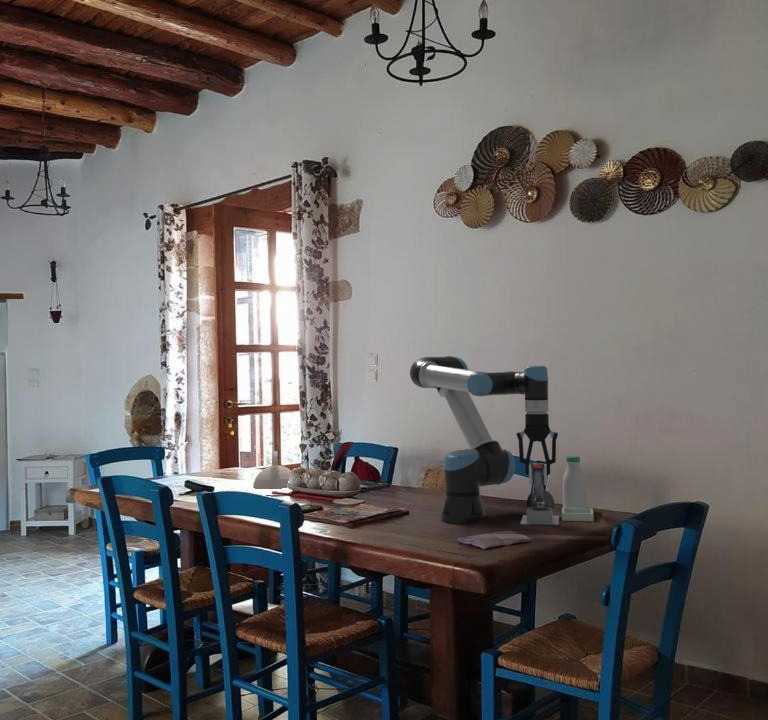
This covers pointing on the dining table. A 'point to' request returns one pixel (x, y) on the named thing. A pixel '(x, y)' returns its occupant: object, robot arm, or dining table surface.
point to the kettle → (273, 475)
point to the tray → (577, 514)
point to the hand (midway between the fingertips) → (538, 484)
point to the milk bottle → (573, 484)
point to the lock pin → (537, 481)
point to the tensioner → (540, 511)
